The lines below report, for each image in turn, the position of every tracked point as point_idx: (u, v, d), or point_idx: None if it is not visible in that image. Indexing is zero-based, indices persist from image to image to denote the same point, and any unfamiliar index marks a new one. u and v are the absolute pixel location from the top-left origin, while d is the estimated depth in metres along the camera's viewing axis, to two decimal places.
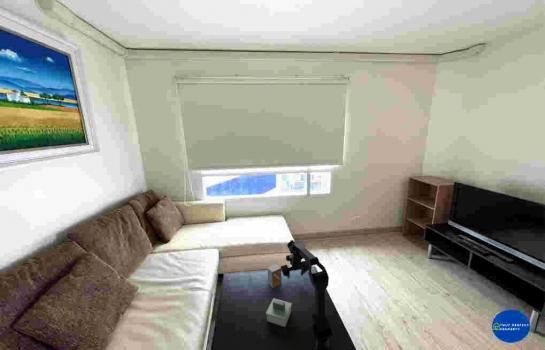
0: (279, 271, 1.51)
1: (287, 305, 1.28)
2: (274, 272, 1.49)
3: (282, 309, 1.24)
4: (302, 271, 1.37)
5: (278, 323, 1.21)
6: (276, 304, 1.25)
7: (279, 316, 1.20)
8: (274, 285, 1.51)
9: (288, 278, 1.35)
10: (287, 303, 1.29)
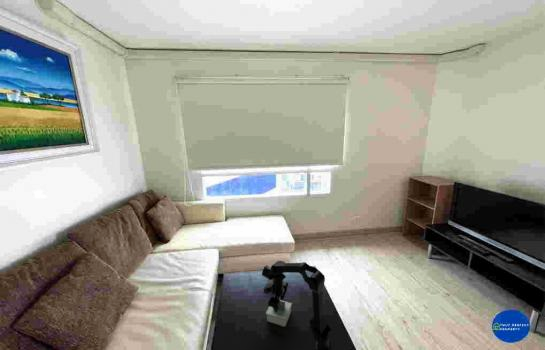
0: None
1: (287, 305, 1.28)
2: None
3: (282, 309, 1.24)
4: (282, 294, 1.29)
5: (278, 323, 1.21)
6: None
7: (279, 316, 1.20)
8: None
9: (277, 310, 1.20)
10: (287, 303, 1.29)
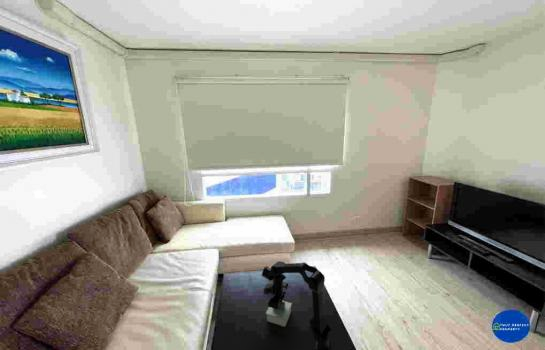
0: None
1: (287, 305, 1.28)
2: None
3: (282, 309, 1.24)
4: (280, 298, 1.26)
5: (278, 323, 1.21)
6: None
7: (279, 316, 1.20)
8: None
9: None
10: (287, 303, 1.29)
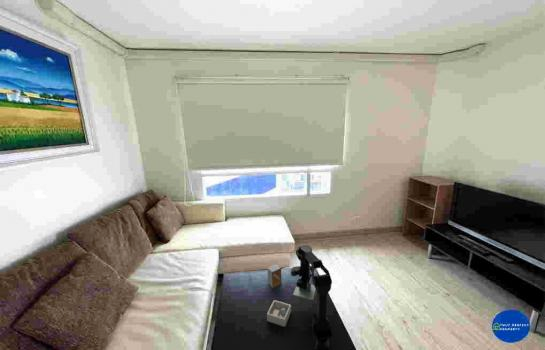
0: (279, 271, 1.51)
1: (312, 286, 1.34)
2: (274, 272, 1.49)
3: (308, 290, 1.29)
4: None
5: (278, 323, 1.21)
6: None
7: (306, 296, 1.26)
8: (274, 285, 1.51)
9: None
10: (312, 285, 1.35)
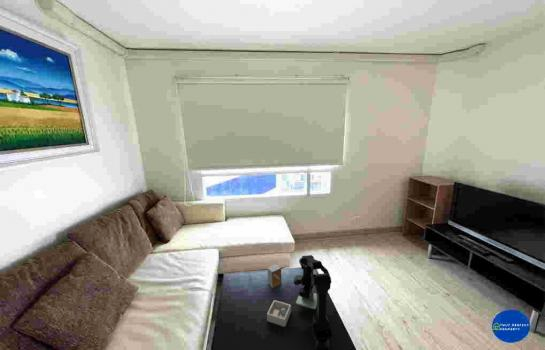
0: (279, 271, 1.51)
1: (315, 295, 1.35)
2: (274, 272, 1.49)
3: (311, 299, 1.31)
4: None
5: (278, 323, 1.21)
6: None
7: (309, 305, 1.28)
8: (274, 285, 1.51)
9: None
10: (315, 294, 1.37)
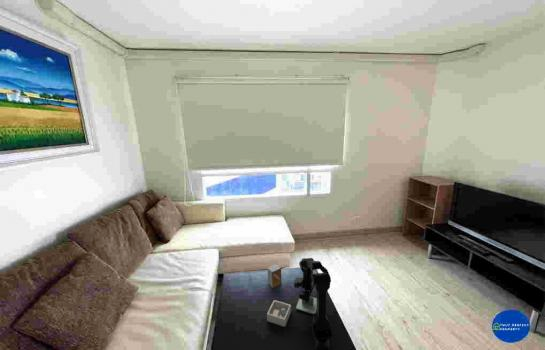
0: (279, 271, 1.51)
1: (315, 300, 1.36)
2: (274, 272, 1.49)
3: (311, 304, 1.32)
4: (309, 290, 1.35)
5: (278, 323, 1.21)
6: None
7: (309, 310, 1.28)
8: (274, 285, 1.51)
9: None
10: (315, 299, 1.37)
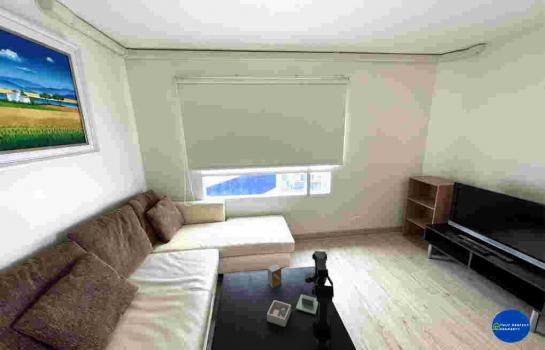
0: (279, 271, 1.51)
1: (315, 300, 1.36)
2: (274, 272, 1.49)
3: (311, 304, 1.32)
4: None
5: (278, 323, 1.21)
6: (305, 299, 1.33)
7: (309, 310, 1.28)
8: (274, 285, 1.51)
9: None
10: (315, 299, 1.37)
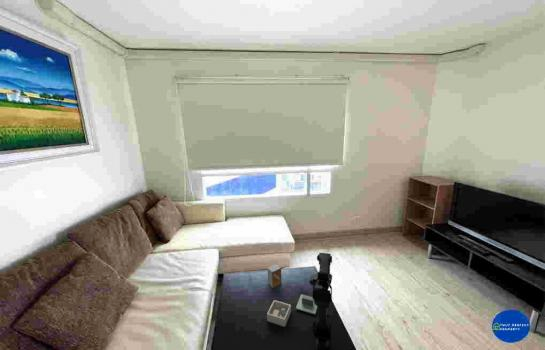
0: (279, 271, 1.51)
1: None
2: (274, 272, 1.49)
3: (311, 304, 1.32)
4: None
5: (278, 323, 1.21)
6: (305, 299, 1.33)
7: (309, 310, 1.28)
8: (274, 285, 1.51)
9: None
10: None
